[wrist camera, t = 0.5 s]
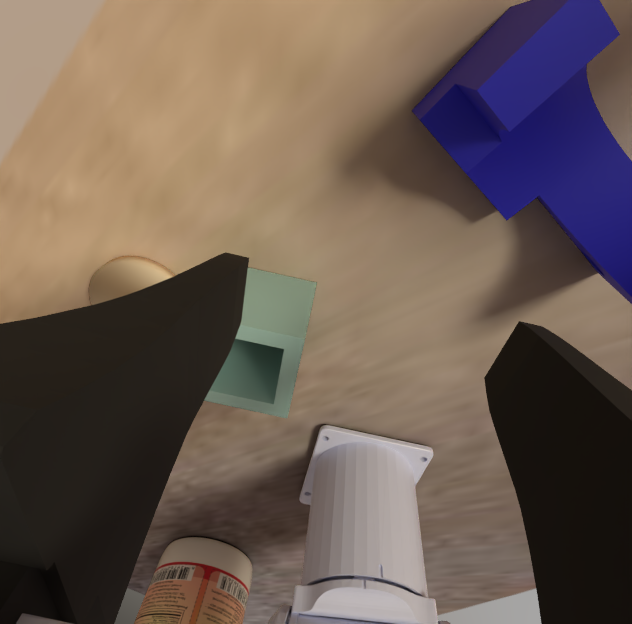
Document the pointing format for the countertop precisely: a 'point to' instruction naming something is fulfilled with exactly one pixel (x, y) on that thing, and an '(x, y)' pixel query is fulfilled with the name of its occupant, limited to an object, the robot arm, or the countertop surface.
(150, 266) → the spindle
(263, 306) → the green hollow cube
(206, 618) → the fruit juice
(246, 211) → the countertop surface
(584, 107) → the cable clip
